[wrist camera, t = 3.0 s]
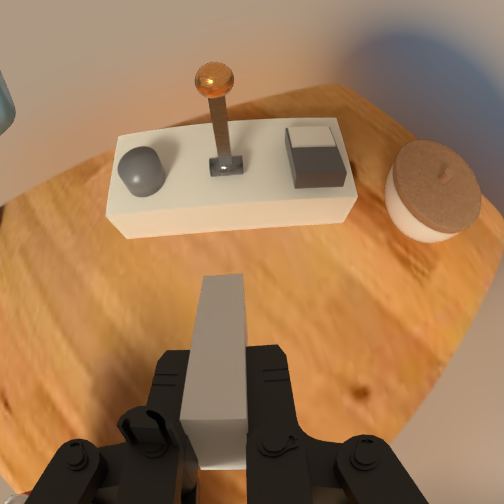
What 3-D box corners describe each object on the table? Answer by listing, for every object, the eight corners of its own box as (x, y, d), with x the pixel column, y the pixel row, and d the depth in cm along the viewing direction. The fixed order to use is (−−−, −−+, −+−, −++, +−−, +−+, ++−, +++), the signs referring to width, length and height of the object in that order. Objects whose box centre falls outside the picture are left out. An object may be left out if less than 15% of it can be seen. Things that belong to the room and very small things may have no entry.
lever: (211, 184, 30) (187, 80, 18) (211, 161, 30) (190, 57, 18) (244, 181, 30) (236, 75, 18) (242, 159, 30) (235, 53, 18)
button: (125, 199, 29) (114, 185, 27) (129, 165, 31) (120, 149, 28) (164, 195, 29) (156, 179, 27) (166, 160, 31) (160, 143, 28)
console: (126, 239, 34) (105, 216, 29) (134, 163, 38) (118, 134, 32) (343, 222, 35) (357, 196, 29) (326, 148, 38) (336, 116, 32)
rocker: (294, 188, 28) (296, 172, 26) (284, 142, 31) (285, 125, 29) (343, 186, 28) (347, 170, 26) (327, 141, 31) (330, 125, 29)
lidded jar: (379, 163, 37) (405, 114, 29) (451, 194, 36) (487, 155, 27) (363, 237, 34) (395, 196, 25) (444, 268, 33) (490, 239, 24)
